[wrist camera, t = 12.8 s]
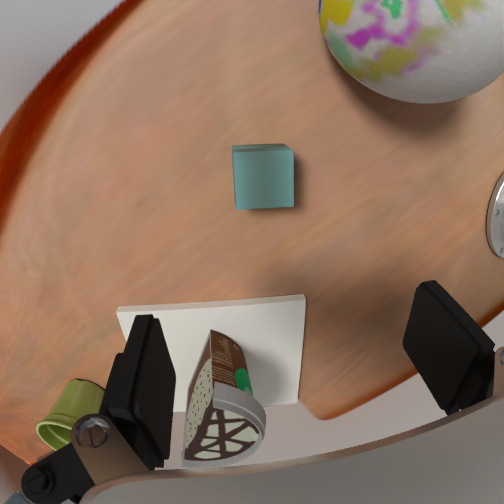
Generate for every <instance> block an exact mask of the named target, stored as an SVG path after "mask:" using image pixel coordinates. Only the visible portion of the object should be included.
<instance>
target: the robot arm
mask: <svg viewBox="0 0 504 504" xmlns="http://www.w3.org/2000/svg"><path fill="white" fill-rule="evenodd" d="M487 238H488V242H489V245H490V247H491V249H492V250H493V252H495V253H496V254H497V255H498V256H500V257H501V258H503V259H504V173H503V174H502V176H501V177H500V179H499V181H498V183H497V184H496V187H495V189H494V191H493V194H492V197H491V200H490V204H489V208H488V214H487ZM494 346H495V344H494V342H493V341H492V340H491V339H490V338H489V337H488V336H487V334H486V333H485V332H484V331H483V330H482V329H481V328H480V326H479V325H478V324H477V323H476V322H475V321H474V320H473V319H472V318H471V317H470V316H469V314H468V313H467V312H466V311H465V310H464V309H463V308H462V307H461V306H460V305H459V304H458V303H457V302H456V301H455V300H454V299H453V298H452V297H451V296H450V295H449V293H448V292H447V291H446V290H445V289H444V288H443V287H442V286H441V285H440V284H439V283H438V282H437V281H435V280H431V281H426V282H422V283H420V285H419V287H417V288H416V291H415V296H414V300H413V304H412V308H411V312H410V316H409V320H408V324H407V327H406V331H405V334H404V338H403V347H404V350H405V351H406V353H407V354H408V356H409V358H410V359H411V361H412V362H413V364H414V366H415V367H416V369H417V370H418V372H419V374H420V375H421V377H422V378H423V380H424V382H425V383H426V385H427V387H428V388H429V390H430V392H431V393H432V395H433V397H434V398H435V400H436V402H437V404H438V405H439V407H440V408H441V409H442V410H445V412H446V414H447V416H446V417H444V418H441V419H439V420H437V421H434V422H431V423H428V424H426V425H423V426H421V427H417V428H415V429H412V430H409V431H406V432H403V433H400V434H397V435H393V436H390V437H387V438H384V439H381V440H377V441H373V442H370V443H366V444H363V445H359V446H354V447H350V448H346V449H342V450H338V451H333V452H328V453H324V454H319V455H313V456H309V457H303V458H297V459H291V460H284V461H277V462H270V463H261V464H252V465H241V466H230V467H217V468H196V469H174V470H157V471H155V467H161V468H163V467H164V459H169V455H170V441H171V430H172V418H173V407H174V397H175V387H176V373H175V369H174V366H173V363H172V360H171V357H170V354H169V350H168V347H167V344H166V341H165V337H164V334H163V330H162V327H161V323H160V320H159V318H154V316H153V315H152V314H144V315H136V316H135V318H134V321H133V324H132V327H131V330H130V333H129V337H128V340H127V343H126V346H125V349H124V353H118V354H117V355H116V357H115V360H114V363H113V366H112V369H111V372H110V376H109V379H108V382H107V385H106V389H105V392H104V396H103V399H102V403H101V406H100V410H99V413H98V414H97V413H94V414H88V415H85V416H83V417H81V418H80V419H78V420H77V421H76V422H75V424H74V425H73V427H72V429H71V433H70V438H71V442H70V443H68V444H67V445H65V446H64V447H62V448H60V449H59V450H57V451H55V452H54V453H52V454H51V455H49V456H47V457H46V458H44V459H42V460H41V461H39V462H37V463H36V464H34V465H32V466H31V467H30V468H28V469H27V470H26V471H25V473H24V475H23V477H22V481H21V487H22V490H21V491H20V492H19V493H18V492H17V491H15V492H14V493H13V494H12V495H11V496H10V497H9V499H8V500H7V501H6V502H5V503H4V504H504V347H501V348H499V349H497V351H496V352H494V350H493V348H494ZM460 409H461V411H459V410H460Z"/></svg>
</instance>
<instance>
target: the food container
mask: <svg viewBox="0 0 504 504" xmlns="http://www.w3.org/2000/svg"><path fill="white" fill-rule="evenodd" d="M265 426H266V414H265V411H264V409H263V407H262V406H261V404H260V403H259V402H258V401H257V400H256V399H255V398H254V395H253V391H252V387H251V382H250V378H249V373H248V369H247V365H246V360H245V356H244V353H243V351H242V349H241V347H240V346H239V345H238V344H237V343H236V342H235V341H234V340H233V339H232V338H230V337H228V336H227V335H225V334H223V333H220V332H218V331H215V330H211V329H210V331H209V334H208V337H207V339H206V342H205V344H204V347H203V349H202V352H201V355H200V357H199V360H198V362H197V365H196V368H195V370H194V373H193V375H192V378H191V381H190V383H189V386H188V390H187V402H186V414H185V427H184V441H183V451H182V467H189V468H216V467H223V466H228V465H231V464H235V463H238V462H240V461H242V460H245V459H246V458H248V457H250V456H251V455H253V454H254V453H255V452H256V451H257V450H258V448H259V447H260V445H261V442H262V440H263V438H264V435H265Z"/></svg>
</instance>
